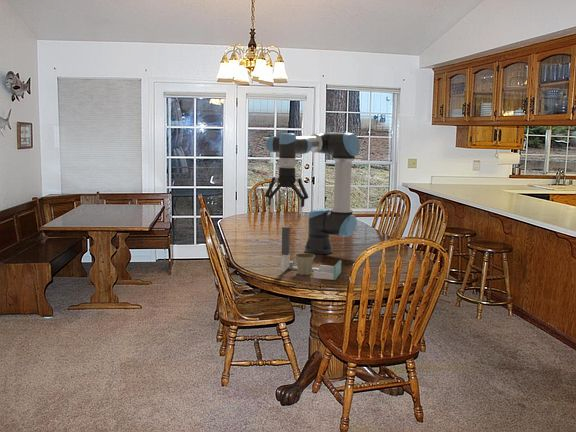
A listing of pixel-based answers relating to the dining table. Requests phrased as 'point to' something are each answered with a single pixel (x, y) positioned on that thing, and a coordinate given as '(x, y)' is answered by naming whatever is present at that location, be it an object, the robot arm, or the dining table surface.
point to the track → (297, 269)
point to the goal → (328, 271)
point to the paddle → (286, 249)
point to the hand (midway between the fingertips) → (286, 213)
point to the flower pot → (304, 263)
